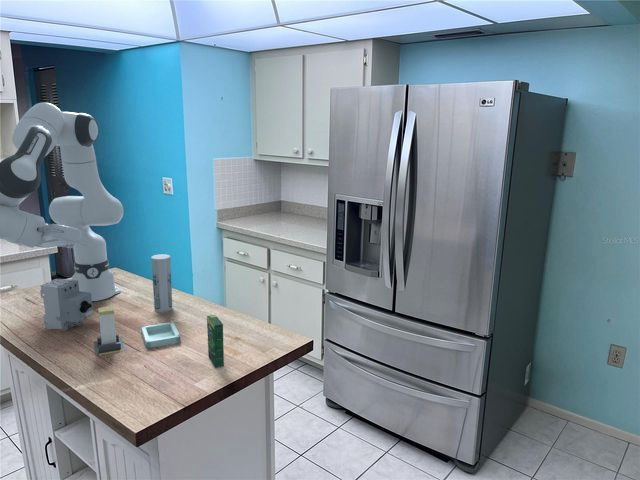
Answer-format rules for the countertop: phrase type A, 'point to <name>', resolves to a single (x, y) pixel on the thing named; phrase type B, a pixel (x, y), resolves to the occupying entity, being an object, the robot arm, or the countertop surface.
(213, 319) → the coffee box
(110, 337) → the fuse
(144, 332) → the tray
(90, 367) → the countertop surface
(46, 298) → the circuit breaker
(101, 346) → the rails
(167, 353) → the countertop surface
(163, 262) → the spray can
